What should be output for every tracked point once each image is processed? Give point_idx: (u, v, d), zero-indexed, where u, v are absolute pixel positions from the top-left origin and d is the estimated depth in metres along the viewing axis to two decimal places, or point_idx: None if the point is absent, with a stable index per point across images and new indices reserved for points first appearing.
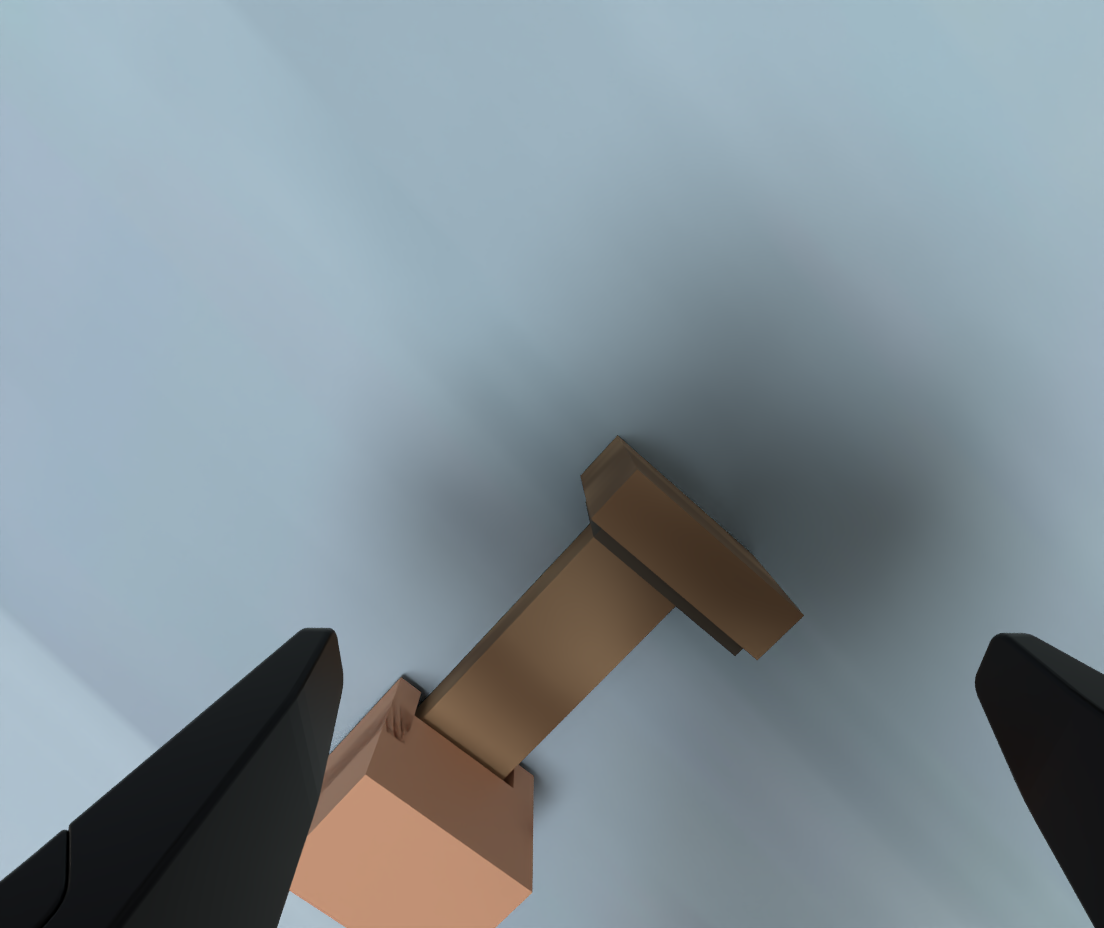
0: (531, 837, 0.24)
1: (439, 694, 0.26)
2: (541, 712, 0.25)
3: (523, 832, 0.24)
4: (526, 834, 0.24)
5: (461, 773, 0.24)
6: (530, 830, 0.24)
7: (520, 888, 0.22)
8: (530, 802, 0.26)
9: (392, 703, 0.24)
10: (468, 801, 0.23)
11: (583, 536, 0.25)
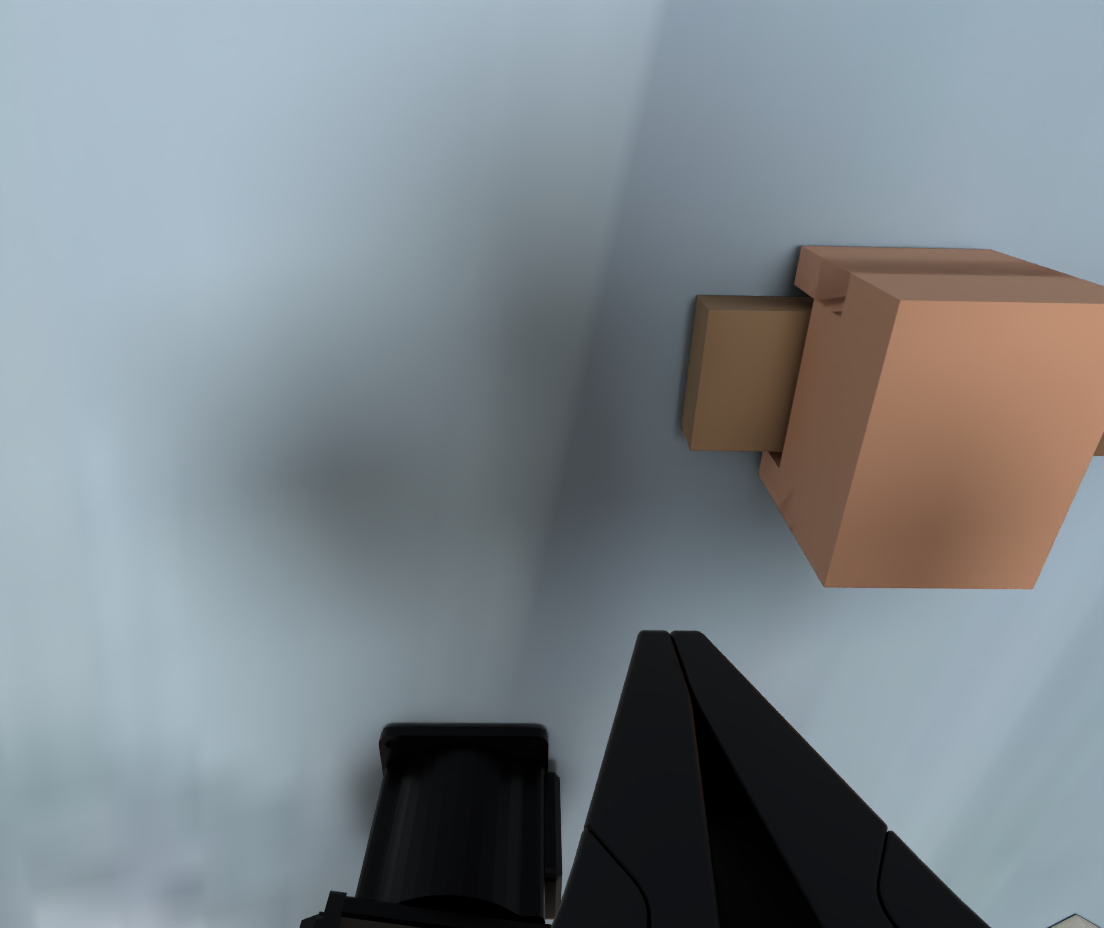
0: None
1: None
2: None
3: None
4: None
5: None
6: None
7: (1032, 576, 0.16)
8: None
9: None
10: None
11: None
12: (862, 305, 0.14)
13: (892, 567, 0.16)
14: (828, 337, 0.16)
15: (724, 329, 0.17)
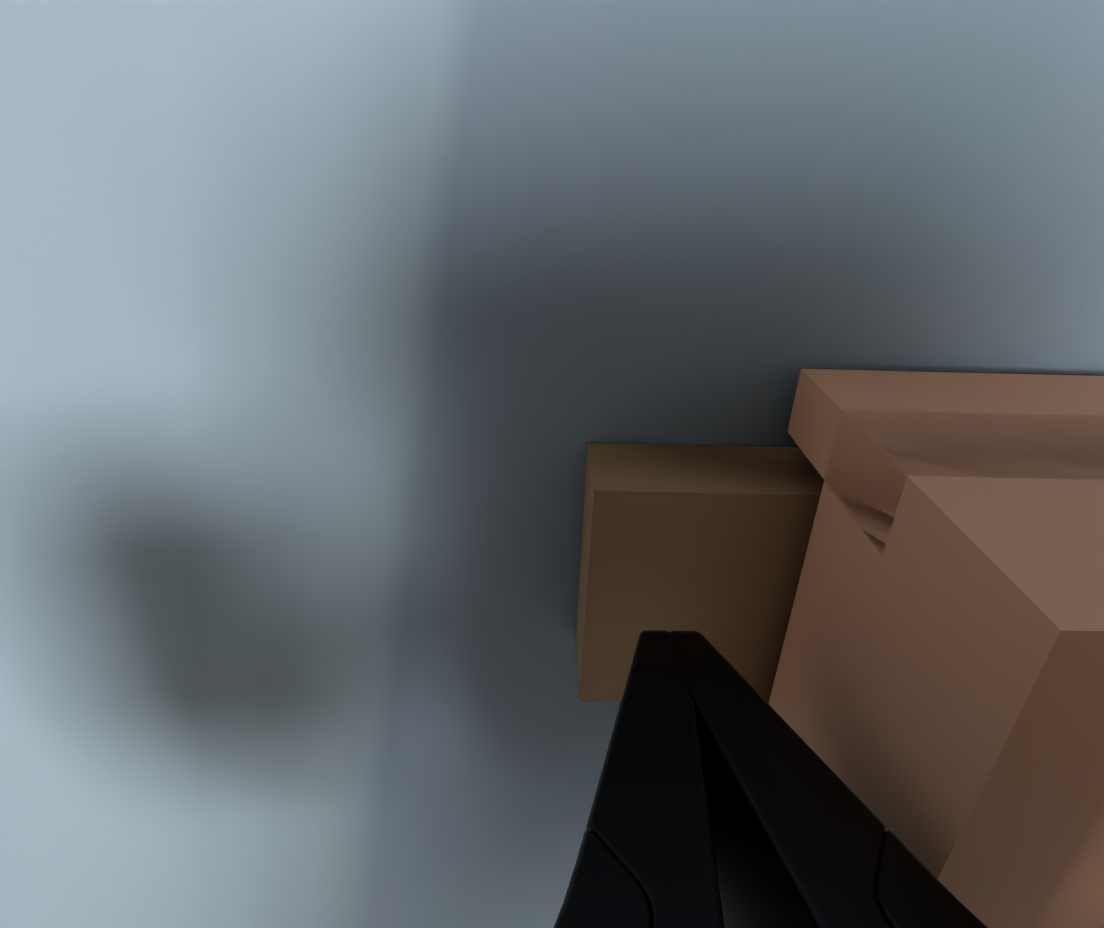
0: None
1: None
2: None
3: None
4: None
5: None
6: None
7: None
8: None
9: None
10: None
11: None
12: (937, 565, 0.06)
13: None
14: (854, 577, 0.08)
15: (625, 522, 0.09)
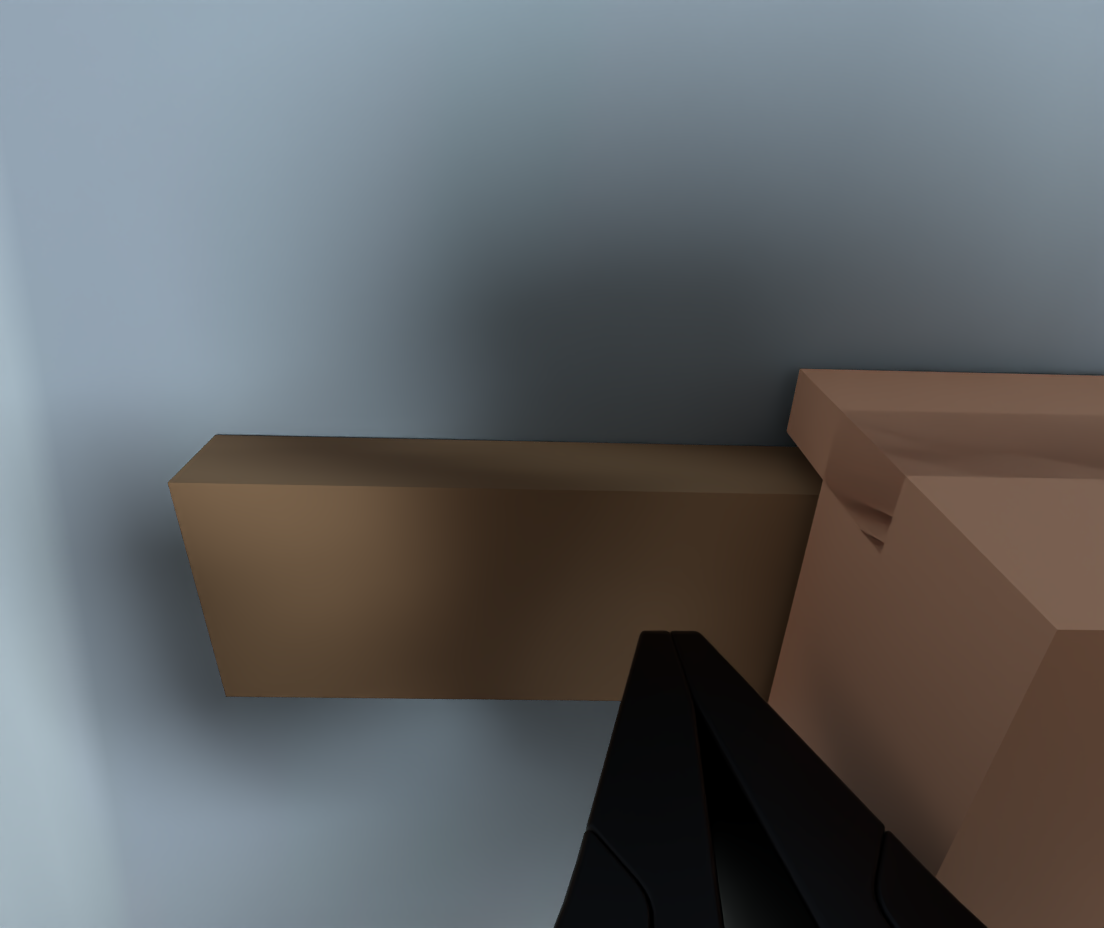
0: None
1: (762, 475, 0.10)
2: None
3: None
4: None
5: None
6: None
7: None
8: None
9: None
10: None
11: None
12: (935, 565, 0.06)
13: None
14: (853, 577, 0.08)
15: (210, 514, 0.09)
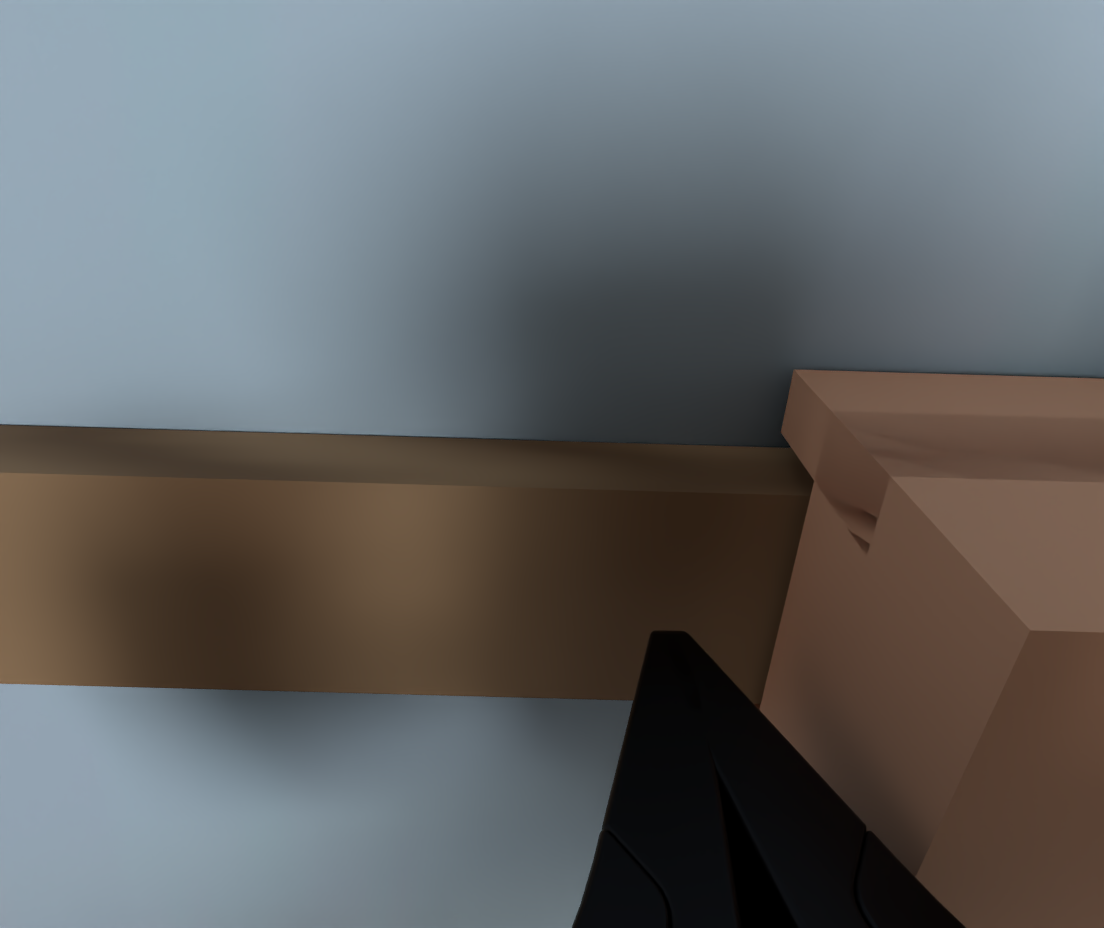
0: None
1: (490, 467, 0.10)
2: (629, 664, 0.11)
3: None
4: None
5: None
6: None
7: None
8: None
9: None
10: None
11: None
12: (917, 565, 0.06)
13: None
14: (840, 577, 0.08)
15: None
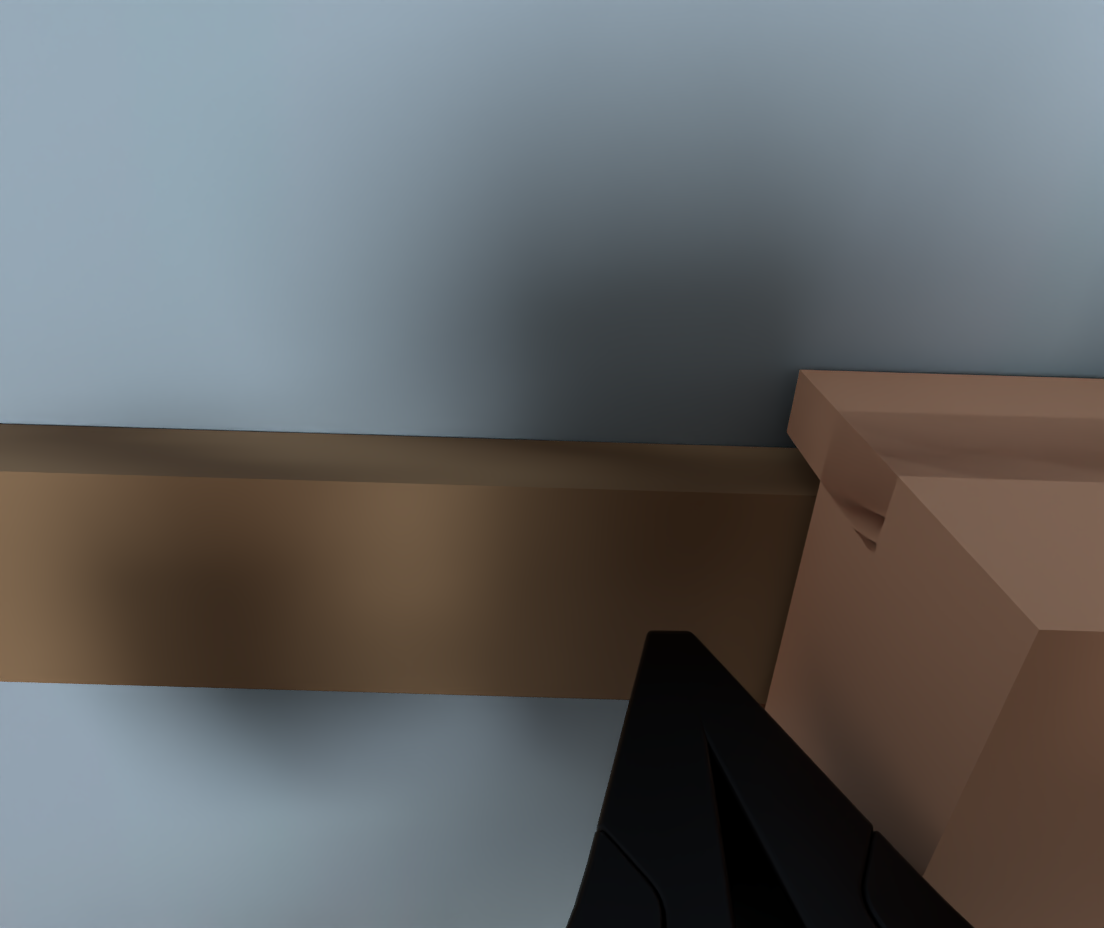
0: None
1: (498, 467, 0.10)
2: (636, 664, 0.11)
3: None
4: None
5: None
6: None
7: None
8: None
9: None
10: None
11: None
12: (924, 565, 0.06)
13: None
14: (847, 577, 0.08)
15: None
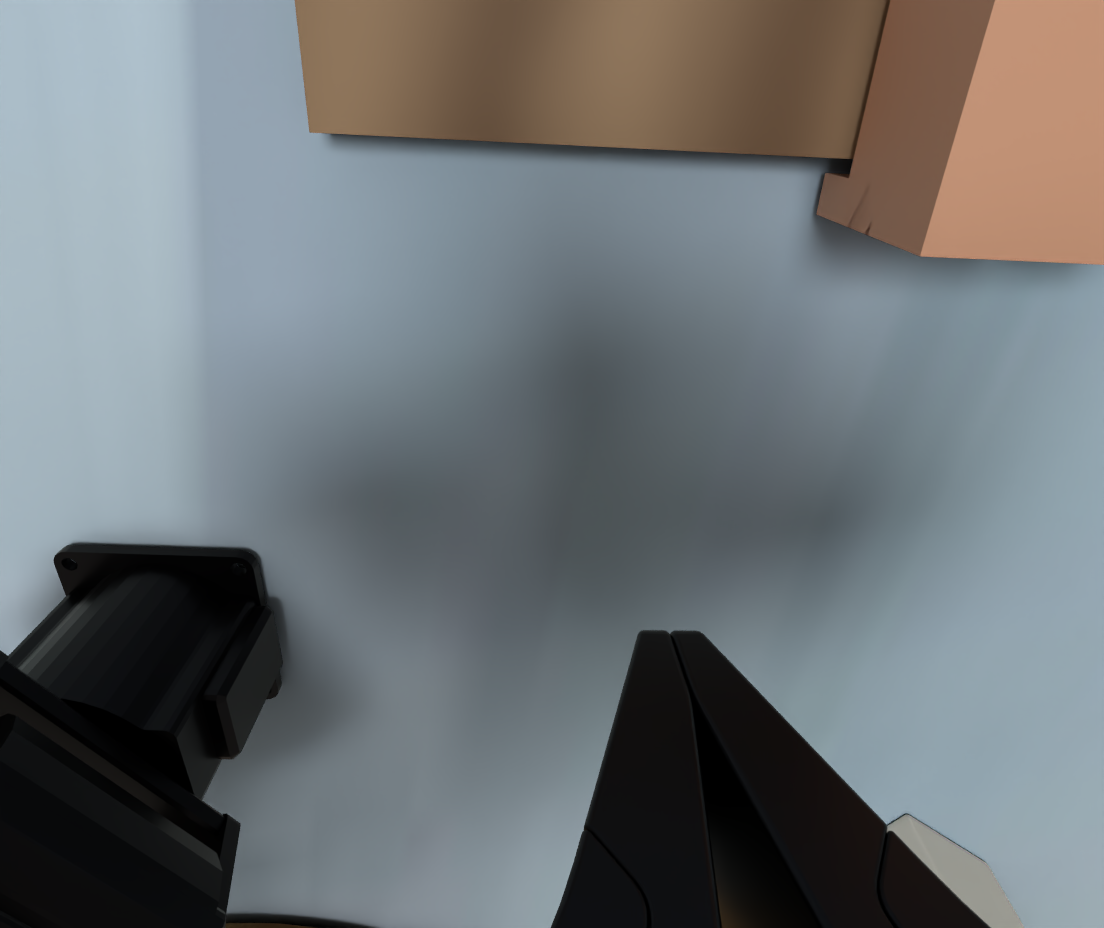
0: None
1: None
2: (769, 115, 0.15)
3: None
4: None
5: None
6: None
7: None
8: None
9: None
10: None
11: None
12: None
13: (1008, 227, 0.12)
14: None
15: None
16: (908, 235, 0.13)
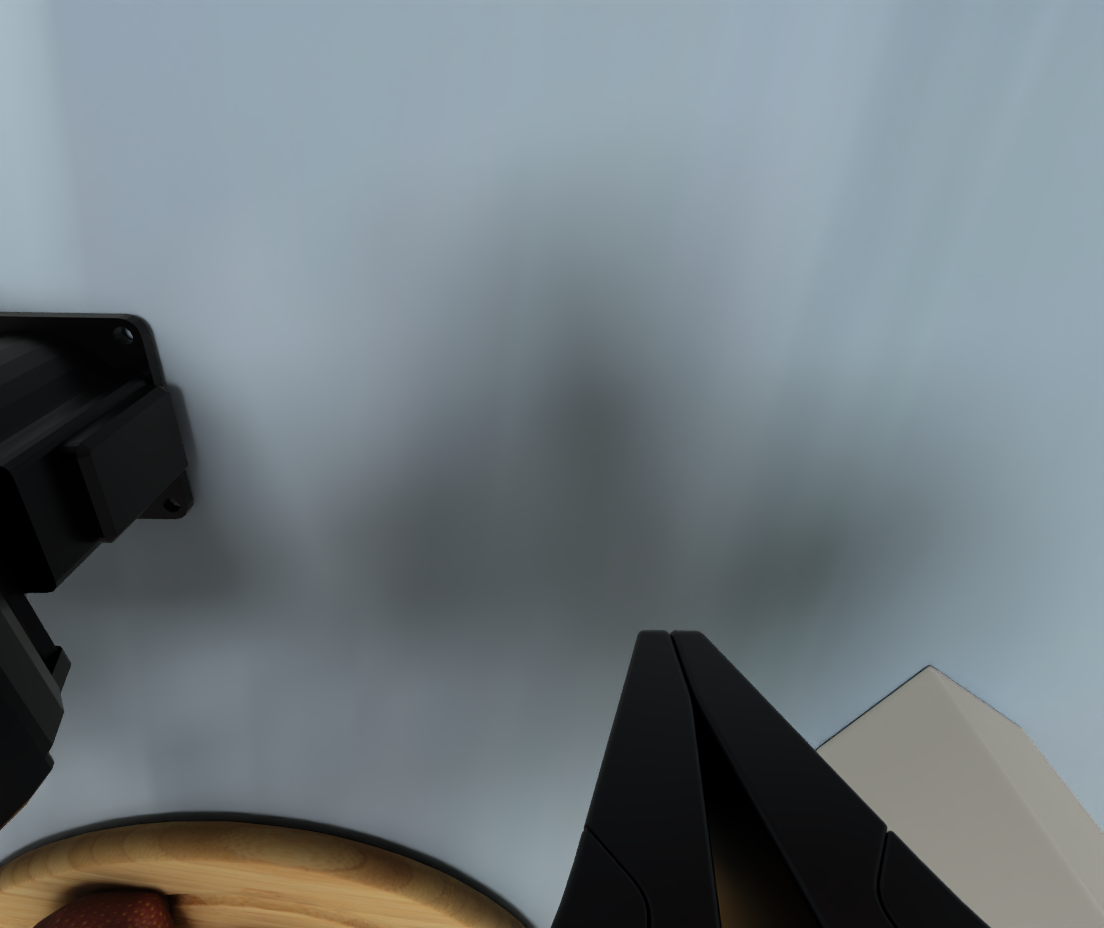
0: None
1: None
2: None
3: None
4: None
5: None
6: None
7: None
8: None
9: None
10: None
11: None
12: None
13: None
14: None
15: None
16: None
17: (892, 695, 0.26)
